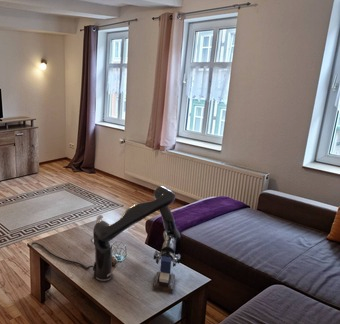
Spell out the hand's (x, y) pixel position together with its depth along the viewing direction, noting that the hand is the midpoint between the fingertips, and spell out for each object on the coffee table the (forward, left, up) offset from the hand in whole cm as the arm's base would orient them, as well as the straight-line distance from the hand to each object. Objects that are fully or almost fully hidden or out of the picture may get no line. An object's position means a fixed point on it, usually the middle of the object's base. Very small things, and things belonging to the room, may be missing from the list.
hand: (165, 263), depth 179 cm
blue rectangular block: (0, -1, -9) cm, 9 cm away
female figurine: (-46, +31, -12) cm, 57 cm away
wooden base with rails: (0, -1, -12) cm, 12 cm away
